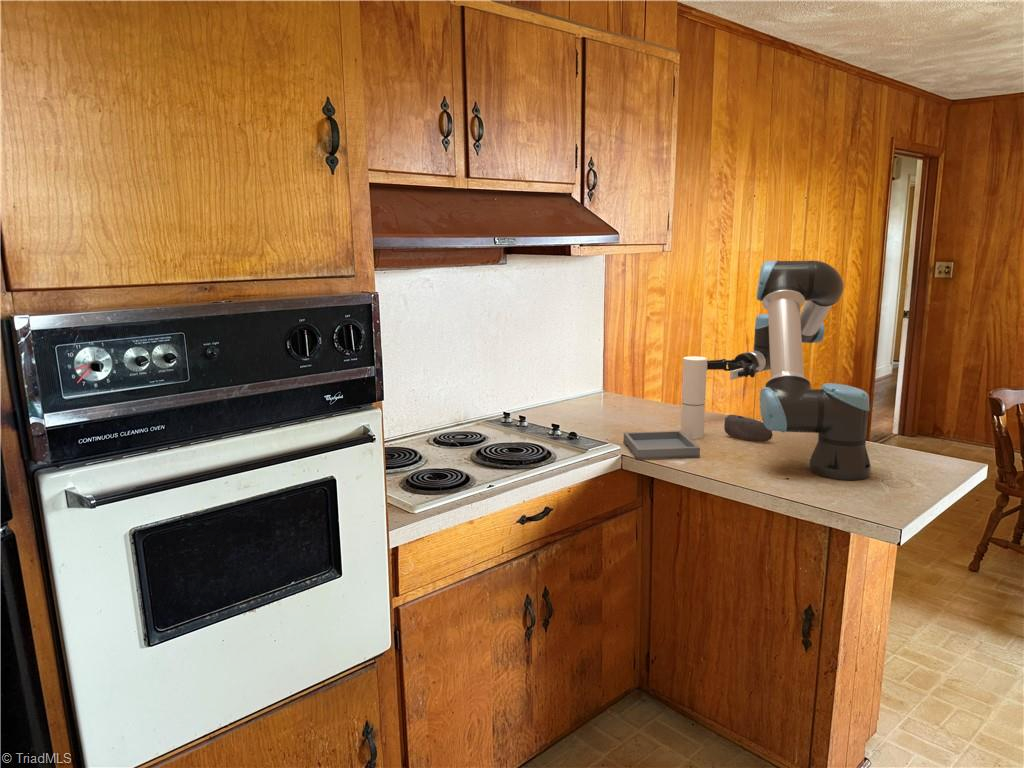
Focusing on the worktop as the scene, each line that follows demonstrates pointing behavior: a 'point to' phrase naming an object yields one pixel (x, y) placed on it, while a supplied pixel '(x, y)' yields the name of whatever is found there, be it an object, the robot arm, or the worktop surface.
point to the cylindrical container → (693, 396)
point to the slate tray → (661, 445)
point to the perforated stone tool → (746, 428)
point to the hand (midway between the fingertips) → (712, 372)
